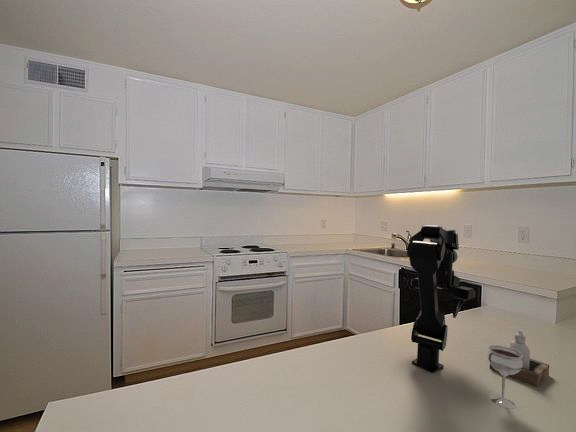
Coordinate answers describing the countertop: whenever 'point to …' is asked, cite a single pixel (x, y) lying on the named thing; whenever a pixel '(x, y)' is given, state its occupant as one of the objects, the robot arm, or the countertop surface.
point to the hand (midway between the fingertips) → (440, 313)
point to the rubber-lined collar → (532, 372)
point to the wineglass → (504, 369)
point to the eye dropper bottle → (521, 348)
